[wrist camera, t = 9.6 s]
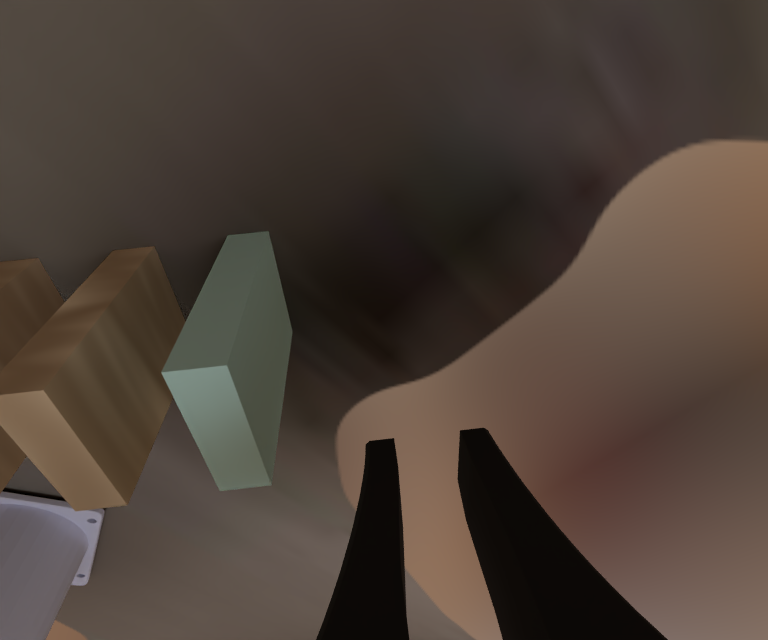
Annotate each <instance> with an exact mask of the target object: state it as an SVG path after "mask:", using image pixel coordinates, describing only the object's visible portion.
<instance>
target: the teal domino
mask: <svg viewBox="0 0 768 640" xmlns="http://www.w3.org/2000/svg"><path fill="white" fill-rule="evenodd" d="M292 333H293V331H292V327H291V323H290V319H289V315H288V310H287V306H286V302H285V298H284V294H283V290H282V285H281V281H280V277H279V273H278V269H277V264H276V260H275V256H274V252H273V248H272V244H271V239H270V235H269V231H266V232H256V233H246V234H236V235H228V236H227V238H226V240H225V242H224V244H223V246H222V248H221V250H220V252H219V254H218V256H217V259H216V261H215V263H214V265H213V267H212V269H211V271H210V273H209V275H208V277H207V279H206V281H205V283H204V285H203V287H202V289H201V291H200V294H199V296H198V298H197V300H196V302H195V304H194V306H193V308H192V310H191V312H190V314H189V316H188V318H187V320H186V322H185V324H184V326H183V329H182V331H181V333H180V335H179V337H178V339H177V341H176V343H175V345H174V347H173V349H172V351H171V353H170V355H169V357H168V359H167V361H166V363H165V366H164V368H163V370H162V372H161V373H162V375H163V377H164V379H165V381H166V383H167V385H168V387H169V389H170V391H171V393H172V395H173V397H174V399H175V402H176V404H177V406H178V408H179V410H180V412H181V414H182V416H183V418H184V420H185V422H186V424H187V426H188V428H189V430H190V432H191V434H192V436H193V438H194V440H195V442H196V444H197V446H198V448H199V450H200V452H201V454H202V456H203V458H204V460H205V462H206V464H207V466H208V468H209V470H210V472H211V474H212V476H213V478H214V480H215V482H216V484H217V486H218V488H219V490H220V491H226V490H234V489H243V488H251V487H260V486H268V485H271V484H272V477H273V470H274V463H275V456H276V448H277V441H278V434H279V427H280V419H281V412H282V405H283V398H284V390H285V383H286V376H287V369H288V362H289V354H290V347H291V340H292Z"/></svg>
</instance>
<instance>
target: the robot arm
mask: <svg viewBox="0 0 768 640" xmlns="http://www.w3.org/2000/svg"><path fill="white" fill-rule="evenodd" d="M398 473H399V472H398V463H397V456H396V449H395V443H394V438H392V439H383V440H375V441H369V442H368V443H367V444H366V455H365V468H364V474H363V481H362V487H361V493H360V498H359V502H358V506H357V511H356V515H355V520H354V524H353V528H352V532H351V536H350V539H349V543H348V546H347V550H346V553H345V557H344V560H343V564H342V567H341V571H340V574H339V577H338V580H337V583H336V586H335V589H334V592H333V595H332V598H331V601H330V604H329V607H328V609H327V612H326V615H325V618H324V621H323V623H322V626H321V629H320V631H319V634H318V636H317V639H316V640H409V634H408V625H407V617H406V591H405V566H404V541H403V522H402V510H401V497H400V485H399V474H398ZM458 483H459V488H460V493H461V498H462V503H463V508H464V512H465V517H466V521H467V524H468V527H469V531H470V534H471V537H472V540H473V543H474V547H475V550H476V553H477V556H478V559H479V562H480V566H481V569H482V571H483V575H484V578H485V581H486V584H487V587H488V590H489V594H490V597H491V600H492V603H493V606H494V609H495V613H496V616H497V619H498V623H499V627H500V631H501V634H502V638H503V640H668V639H667V638H665V637H664V636H663V635H662V634H661V633H660V632H659V631H658V630H657V629H656V628H655V627H654V626H652V625H651V624H650V623H649V622H648V621H647V620H646V619H645V618H644V617H643V616H642V615H641V614H639V613H638V612H637V611H636V610H635V609H634V608H633V607H632V606H631V605H630V604H629V603H628V602H627V601H626V600H625V599H624V598H623V597H622V596H621V595H620V594H619V593H618V592H617V591H616V590H615V589H614V588H613V587H612V586H611V585H610V584H609V583H608V582H607V581H606V580H605V578H604V577H603V576H602V575H601V574H600V573H599V572H598V571H597V570H596V569H595V568H594V567H593V566H592V565H591V564H590V563H589V562H588V560H586V558H585V557H584V556H583V555H582V554H581V553H580V552H579V550H577V548H576V547H575V546H574V545H573V544H572V543H571V541H570V540H569V539H568V538H567V537H566V536H565V535H564V533H563V532H562V531H561V530H560V529H559V527H558V526H557V525H556V524H555V523H554V521H553V520H552V519H551V518H550V517H549V515H548V514H547V513H546V512H545V510H544V509H543V508H542V507H541V505H540V504H539V503H538V502H537V500H536V499H535V498H534V496H533V495H532V494H531V492H530V491H529V490H528V489H527V487H526V486H525V485H524V483H523V482H522V481H521V479H520V478H519V476H518V475H517V474H516V472H515V471H514V469H513V468H512V467H511V465H510V464H509V462H508V461H507V459H506V458H505V456H504V455H503V454H502V452H501V451H500V449H499V448H498V446H497V445H496V443H495V441H494V440H493V438H492V436H491V435H490V433H489V431H488V430H486V429H485V428H478V429H469V430H461V431H460V442H459V462H458ZM104 513H105V511H104V510H103V509H102V508H100V509H92V510H83V511H75V510H74V509H73V508H72V507H71V506H70V505H69V504H68V502H67V501H60V500H54V499H48V498H41V497H35V496H29V495H22V494H16V493H10V492H4V491H2V492H1V494H0V640H46V638H47V636H48V633H49V631H50V629H51V627H52V625H53V623H54V620H55V618H56V616H57V614H58V612H59V610H60V607H61V605H62V603H63V601H64V599H65V597H66V595H67V592H68V590H69V588H70V586H71V585H78V586H82V585H85V584H87V583H88V581H89V578H90V574H91V570H92V565H93V561H94V557H95V552H96V548H97V544H98V539H99V535H100V531H101V526H102V522H103V518H104Z"/></svg>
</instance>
